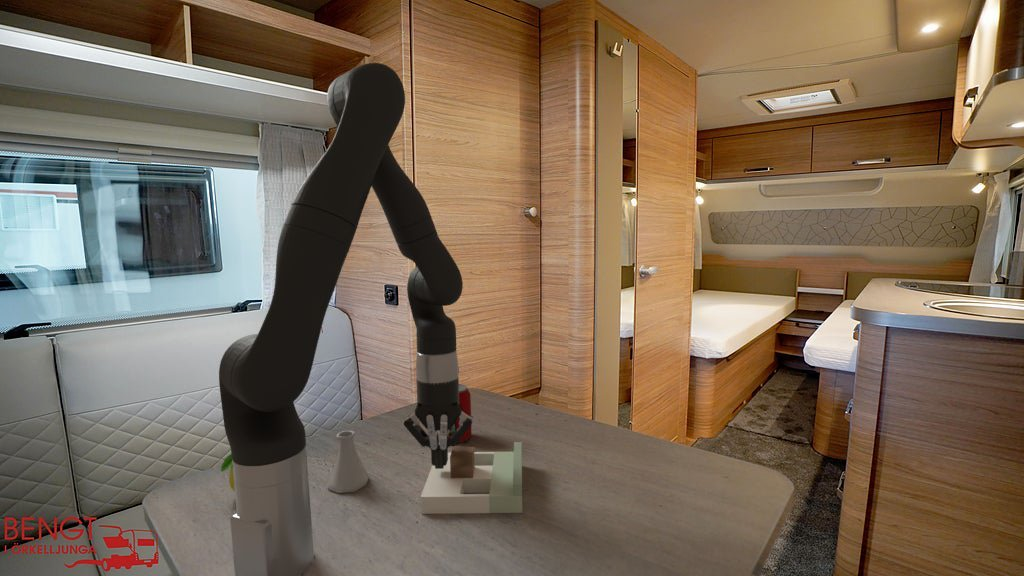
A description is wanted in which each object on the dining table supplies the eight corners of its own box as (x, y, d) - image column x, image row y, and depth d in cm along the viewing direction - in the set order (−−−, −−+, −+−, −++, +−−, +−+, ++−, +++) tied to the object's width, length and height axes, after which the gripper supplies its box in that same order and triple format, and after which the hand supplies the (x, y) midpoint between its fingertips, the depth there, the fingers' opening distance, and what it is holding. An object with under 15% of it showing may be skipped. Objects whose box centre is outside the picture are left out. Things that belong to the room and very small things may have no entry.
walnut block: (450, 478, 87) (450, 457, 86) (453, 467, 91) (452, 447, 90) (473, 477, 87) (472, 456, 86) (474, 467, 91) (474, 446, 90)
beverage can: (438, 435, 113) (436, 385, 111) (466, 430, 115) (464, 381, 114) (447, 447, 106) (445, 394, 105) (476, 440, 109) (474, 389, 108)
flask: (356, 496, 87) (353, 443, 86) (320, 492, 89) (316, 440, 87) (375, 476, 94) (372, 427, 93) (341, 473, 96) (338, 424, 94)
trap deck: (421, 513, 81) (419, 485, 81) (437, 466, 97) (436, 442, 97) (522, 512, 81) (521, 484, 80) (521, 465, 97) (521, 441, 97)
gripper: (395, 381, 83) (399, 477, 85) (472, 381, 83) (474, 476, 85) (405, 369, 91) (408, 457, 93) (475, 369, 91) (477, 457, 93)
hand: (440, 466), depth 89 cm, fingers closed
